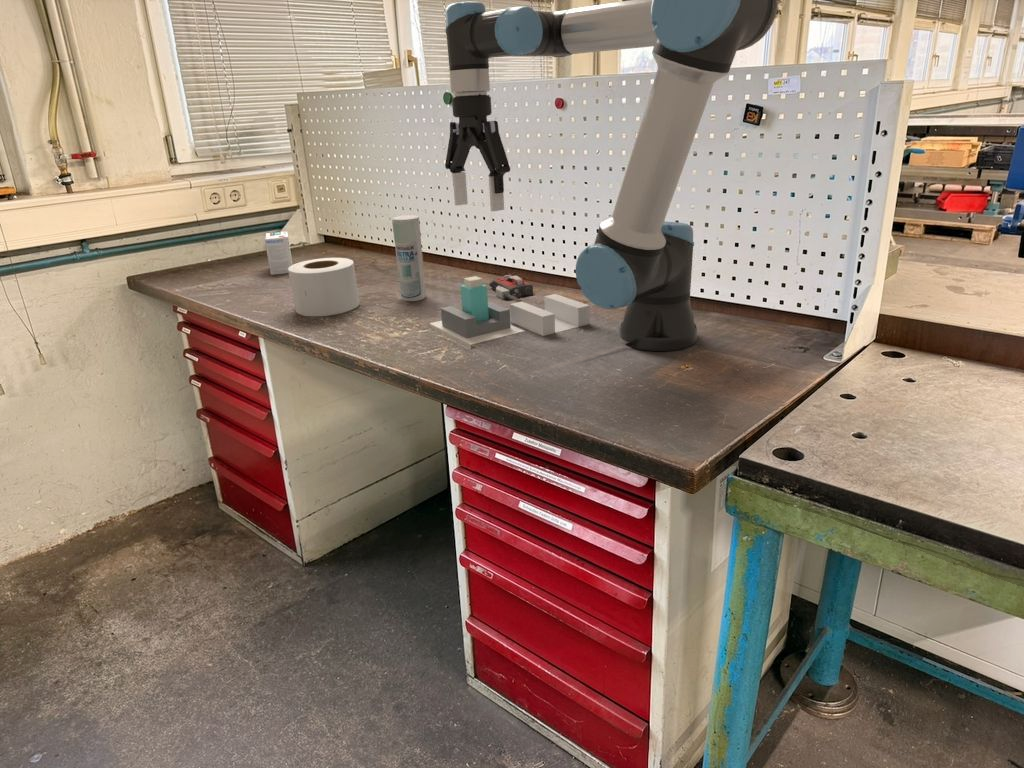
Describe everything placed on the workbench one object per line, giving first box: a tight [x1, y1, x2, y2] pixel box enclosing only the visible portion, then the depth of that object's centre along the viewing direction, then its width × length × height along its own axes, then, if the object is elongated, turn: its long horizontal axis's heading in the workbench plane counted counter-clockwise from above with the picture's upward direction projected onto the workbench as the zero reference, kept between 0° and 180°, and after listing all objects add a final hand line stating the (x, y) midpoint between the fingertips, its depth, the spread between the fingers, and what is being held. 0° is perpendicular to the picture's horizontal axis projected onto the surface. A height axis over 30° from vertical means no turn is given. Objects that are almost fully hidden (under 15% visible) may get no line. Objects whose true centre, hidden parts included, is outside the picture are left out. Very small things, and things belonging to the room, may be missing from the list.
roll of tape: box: [288, 257, 361, 317], centre depth 168 cm, size 16×15×11 cm
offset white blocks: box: [509, 293, 591, 337], centre depth 146 cm, size 12×12×5 cm
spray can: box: [391, 214, 427, 302], centre depth 170 cm, size 6×6×20 cm
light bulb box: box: [264, 231, 294, 276], centre depth 209 cm, size 11×7×11 cm, turn 17°
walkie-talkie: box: [488, 274, 534, 303], centre depth 172 cm, size 9×4×20 cm
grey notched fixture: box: [429, 300, 525, 350], centre depth 146 cm, size 18×13×5 cm
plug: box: [459, 275, 489, 322], centre depth 145 cm, size 4×4×10 cm
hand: (478, 207), depth 141 cm, fingers open, 13 cm apart
